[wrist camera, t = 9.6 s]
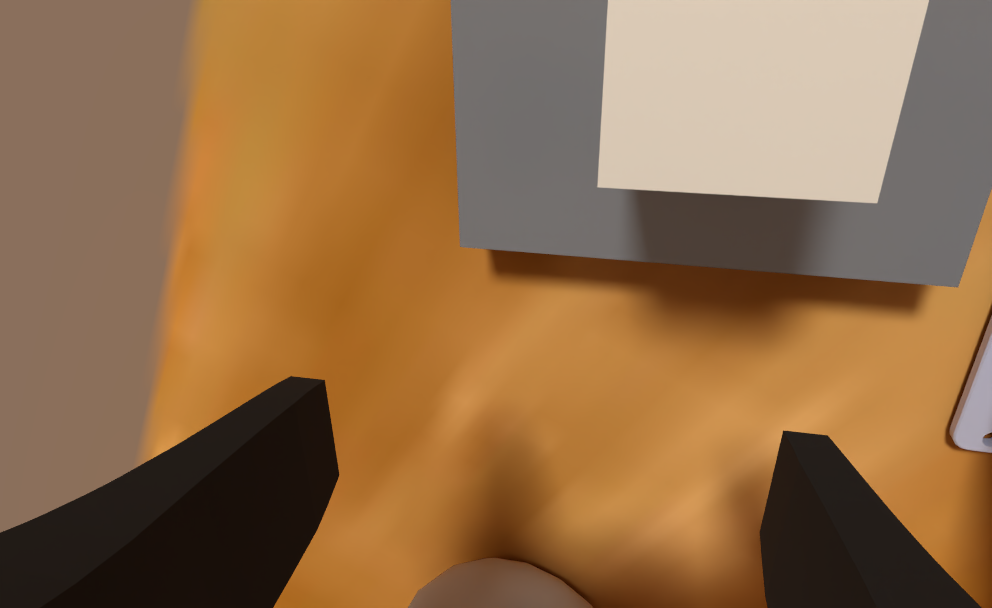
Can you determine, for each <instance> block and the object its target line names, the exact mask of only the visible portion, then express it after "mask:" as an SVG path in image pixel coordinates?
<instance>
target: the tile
mask: <svg viewBox="0 0 992 608" xmlns="http://www.w3.org/2000/svg"><path fill="white" fill-rule="evenodd" d="M607 8H608V0H451V19H452V45H453V72H454V98H455V124H456V151H457V177H458V204H459V230H460V247H468V248H480V249H492V250H505V251H517V252H529V253H542V254H554V255H566V256H579V257H591V258H603V259H616V260H628V261H640V262H652V263H665V264H677V265H689V266H702V267H714V268H726V269H739V270H751V271H763V272H776V273H788V274H800V275H813V276H825V277H837V278H850V279H862V280H874V281H886V282H899V283H911V284H923V285H936V286H948V287H958V286H959V283H960V280H961V277H962V274H963V271H964V268H965V265H966V262H967V259H968V257H969V254H970V251H971V248H972V245H973V242H974V239H975V236H976V233H977V230H978V227H979V224H980V221H981V218H982V215H983V212H984V209H985V206H986V203H987V200H988V197H989V194H990V192H991V189H992V0H929V3H928V7H927V11H926V15H925V19H924V22H923V26H922V30H921V34H920V38H919V42H918V46H917V50H916V54H915V58H914V62H913V65H912V69H911V73H910V77H909V81H908V85H907V89H906V93H905V97H904V101H903V104H902V108H901V112H900V116H899V120H898V124H897V128H896V132H895V136H894V140H893V144H892V147H891V151H890V155H889V159H888V163H887V167H886V171H885V175H884V179H883V183H882V187H881V190H880V194H879V198H878V202H877V203H861V202H844V201H826V200H809V199H791V198H774V197H757V196H739V195H722V194H704V193H687V192H669V191H652V190H635V189H617V188H600V187H597V186H598V168H599V150H600V132H601V115H602V97H603V79H604V61H605V44H606V26H607Z"/></svg>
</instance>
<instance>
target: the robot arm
mask: <svg viewBox="0 0 992 608" xmlns="http://www.w3.org/2000/svg"><path fill="white" fill-rule="evenodd" d="M989 433H992V316H991V319H990V322H989V324H988V327H987V330H986V332H985V335H984V338H983V340H982V343H981V346H980V348H979V351H978V354H977V357H976V359H975V362H974V365H973V367H972V370H971V373H970V375H969V378H968V381H967V383H966V386H965V389H964V391H963V394H962V397H961V400H960V402H959V405H958V408H957V410H956V413H955V416H954V418H953V421H952V424H951V426H950V435H951V437H952V439H953V441H954V443H955V444H956V445H957V446H958V447H960V448H962V449H966V450H971V451H980V452H988V453H992V437H991V438H983V437H984V436H985V435H986V434H989ZM338 477H339V470H338V463H337V457H336V450H335V444H334V437H333V431H332V424H331V418H330V411H329V405H328V398H327V392H326V386H325V380H319V379H310V378H301V377H292V376H290V377H289V378H287V379H285V380H283V381H281V382H279V383H277V384H276V385H274V386H272V387H271V388H269V389H267V390H266V391H264V392H262V393H261V394H259V395H257V396H256V397H254V398H252V399H251V400H249V401H248V402H246V403H244V404H243V405H241V406H240V407H238V408H236V409H235V410H233V411H232V412H230V413H228V414H227V415H225V416H223V417H222V418H220V419H219V420H217V421H215V422H214V423H212V424H210V425H209V426H207V427H205V428H204V429H202V430H201V431H199V432H197V433H196V434H194V435H192V436H191V437H189V438H188V439H186V440H184V441H183V442H181V443H179V444H178V445H176V446H174V447H172V448H170V449H169V450H167V451H165V452H163V453H162V454H160V455H158V456H156V457H154V458H153V459H151V460H149V461H147V462H146V463H144V464H142V465H140V466H138V467H137V468H135V469H133V470H131V471H130V472H128V473H126V474H124V475H123V476H121V477H119V478H117V479H115V480H113V481H111V482H110V483H108V484H106V485H104V486H102V487H100V488H98V489H96V490H94V491H92V492H90V493H88V494H86V495H84V496H82V497H80V498H78V499H76V500H74V501H71V502H69V503H67V504H65V505H63V506H61V507H59V508H57V509H54V510H52V511H50V512H48V513H46V514H44V515H41V516H39V517H37V518H35V519H32V520H30V521H28V522H26V523H23V524H21V525H18V526H16V527H13V528H11V529H9V530H6V531H3V532H1V533H0V608H273V607H274V605H275V603H276V602H277V600H278V598H279V596H280V595H281V593H282V591H283V589H284V588H285V586H286V584H287V583H288V581H289V579H290V577H291V576H292V574H293V572H294V570H295V569H296V567H297V565H298V563H299V561H300V560H301V558H302V556H303V554H304V553H305V551H306V549H307V547H308V545H309V544H310V542H311V540H312V538H313V536H314V535H315V533H316V531H317V529H318V527H319V524H320V522H321V520H322V517H323V515H324V513H325V510H326V508H327V505H328V503H329V500H330V498H331V495H332V493H333V490H334V488H335V485H336V482H337V480H338ZM760 541H761V554H762V566H763V577H764V587H765V597H766V602H767V607H768V608H981V607H980V606H979V605H978V604H977V603H976V602H975V600H974V599H973V598H972V597H971V596H970V595H969V594H968V593H967V592H966V591H965V590H964V589H963V588H962V587H961V586H960V585H959V584H958V583H957V582H956V581H955V580H954V579H953V578H952V577H951V576H950V575H949V574H948V573H947V572H946V571H945V570H944V569H943V568H942V567H941V566H940V565H939V564H938V563H937V562H936V561H935V560H934V558H933V557H932V556H931V555H930V554H929V553H928V552H927V551H926V550H925V549H924V548H923V547H922V545H921V544H920V543H919V542H918V541H917V540H916V539H915V538H914V537H913V535H912V534H911V533H910V532H909V531H908V530H907V529H906V528H905V527H904V525H903V524H902V523H901V522H900V521H899V520H898V519H897V517H896V516H895V515H894V514H893V513H892V512H891V511H890V509H889V508H888V507H887V506H886V505H885V504H884V502H883V501H882V500H881V499H880V498H879V496H878V495H877V494H876V493H875V492H874V490H873V489H872V488H871V487H870V486H869V485H868V483H867V482H866V481H865V480H864V478H863V477H862V476H861V475H860V474H859V472H858V471H857V470H856V469H855V468H854V466H853V465H852V464H851V463H850V462H849V460H848V459H847V458H846V457H845V456H844V454H843V453H842V452H841V451H840V450H839V448H838V447H837V446H836V445H835V444H834V443H833V441H832V440H831V439H830V438H829V437H828V436H827V435H818V434H809V433H800V432H791V431H783V434H782V439H781V443H780V447H779V451H778V456H777V460H776V464H775V469H774V473H773V477H772V482H771V486H770V490H769V495H768V499H767V503H766V507H765V512H764V516H763V520H762V525H761V529H760Z"/></svg>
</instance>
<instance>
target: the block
mask: <svg viewBox="0 0 992 608" xmlns="http://www.w3.org/2000/svg"><path fill="white" fill-rule="evenodd" d="M928 3H929V0H608V8H607V26H606V44H605V61H604V79H603V97H602V115H601V132H600V150H599V168H598V186H597V187H600V188H617V189H635V190H652V191H669V192H687V193H704V194H722V195H739V196H757V197H774V198H791V199H809V200H826V201H844V202H861V203H877V202H878V198H879V194H880V190H881V187H882V183H883V179H884V175H885V171H886V167H887V163H888V159H889V155H890V151H891V147H892V144H893V140H894V136H895V132H896V128H897V124H898V120H899V116H900V112H901V108H902V104H903V101H904V97H905V93H906V89H907V85H908V81H909V77H910V73H911V69H912V65H913V62H914V58H915V54H916V50H917V46H918V42H919V38H920V34H921V30H922V26H923V22H924V19H925V15H926V11H927V7H928Z"/></svg>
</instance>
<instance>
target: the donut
mask: <svg viewBox="0 0 992 608" xmlns="http://www.w3.org/2000/svg"><path fill="white" fill-rule="evenodd" d="M408 608H593V607H592V606H591V604H590V603H588V602H587V601H586V600H585V599H584V598H582V597H581V596H580V595H579V594H578V593H576V592H575V591H574V590H573V589H572V588H570V587H569V586H568V585H567V584H566V583H564V582H563V581H562V580H560V579H559V578H557V577H555V576H553V575H551V574H549V573H547V572H545V571H543V570H541V569H538V568H536V567H534V566H532V565H530V564H528V563H526V562H520V561H513V560H506V559H500V558H484V559H480V560H475V561H471V562H466V563H462V564H457V565H454V566H452V567H451V568H449V569H447V570H446V571H445V572H443V573H442V574H440V575H439V576H438V577H436V578H435V579H434V580H432V581H431V582H430V583H428V584H427V585H426V586H424V587H423V588H421V589H420V590H419V591H418V592H417V594H416V595H415V597H414V599H413V600H412V602H411V603H410V605H409V607H408Z"/></svg>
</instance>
